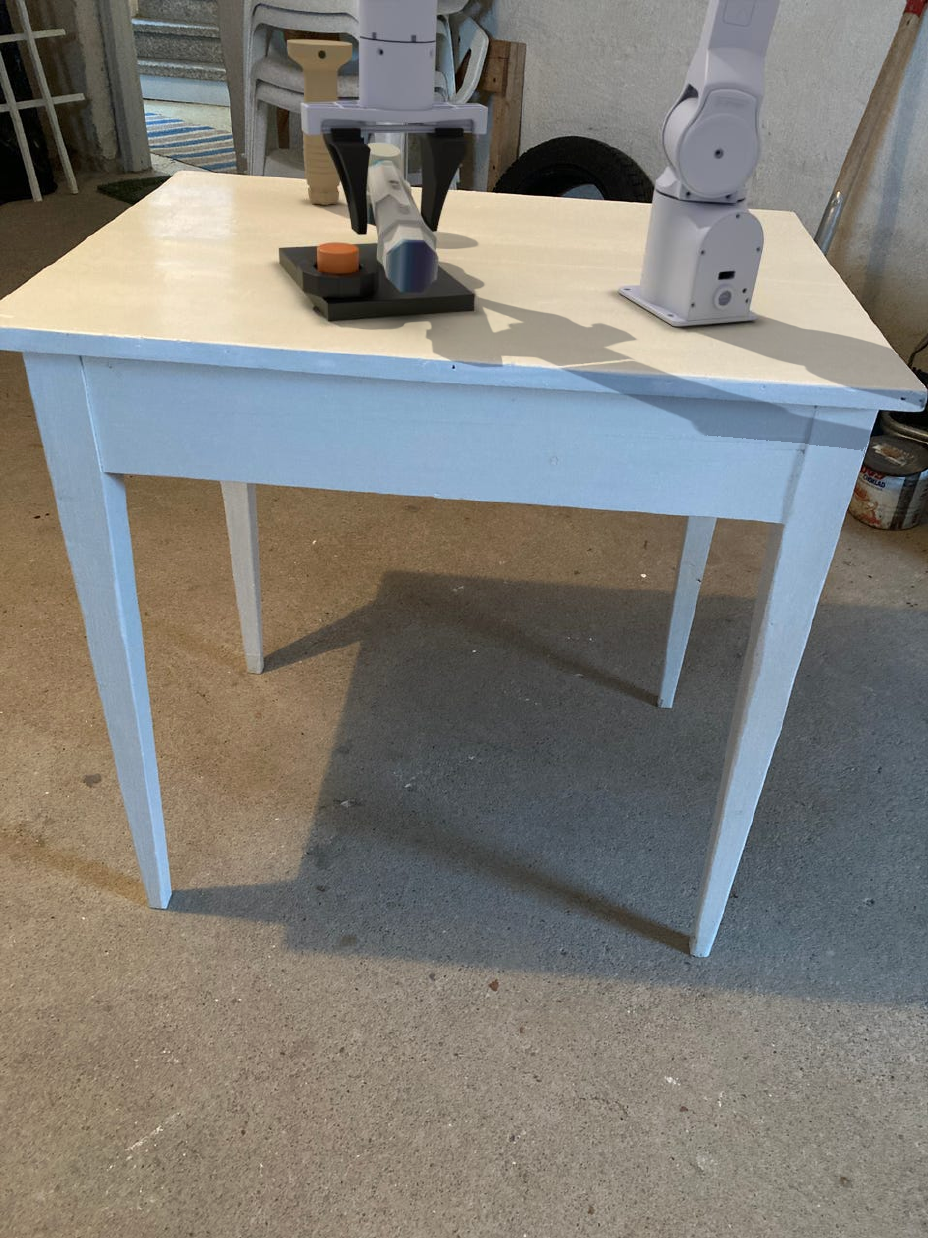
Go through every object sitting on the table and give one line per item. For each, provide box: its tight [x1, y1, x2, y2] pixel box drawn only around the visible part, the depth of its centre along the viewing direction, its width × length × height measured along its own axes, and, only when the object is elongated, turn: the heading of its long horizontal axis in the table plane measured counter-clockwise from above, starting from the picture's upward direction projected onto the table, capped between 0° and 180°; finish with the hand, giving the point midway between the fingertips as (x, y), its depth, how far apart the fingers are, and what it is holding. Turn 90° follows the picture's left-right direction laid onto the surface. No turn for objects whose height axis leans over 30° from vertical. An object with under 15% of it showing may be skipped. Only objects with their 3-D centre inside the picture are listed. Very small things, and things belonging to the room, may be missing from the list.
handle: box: [286, 39, 353, 206], centre depth 102 cm, size 5×6×15 cm
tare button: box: [317, 241, 359, 273], centre depth 76 cm, size 3×3×2 cm
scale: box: [278, 242, 476, 322], centre depth 82 cm, size 16×13×3 cm
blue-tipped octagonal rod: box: [367, 141, 439, 293], centre depth 81 cm, size 5×7×25 cm
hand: (394, 230), depth 81 cm, fingers closed on blue-tipped octagonal rod, 5 cm apart
